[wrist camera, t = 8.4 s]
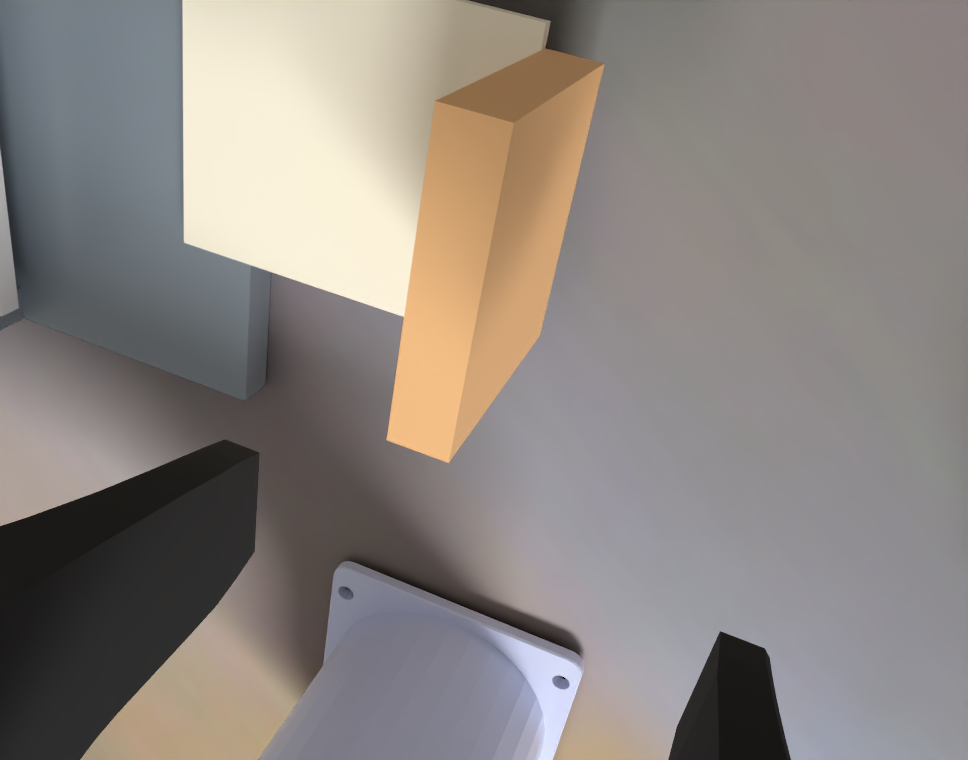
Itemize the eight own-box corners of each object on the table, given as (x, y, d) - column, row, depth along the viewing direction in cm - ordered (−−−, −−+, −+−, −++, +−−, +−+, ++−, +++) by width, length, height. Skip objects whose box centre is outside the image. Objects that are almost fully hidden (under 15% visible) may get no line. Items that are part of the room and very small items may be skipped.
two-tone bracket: (611, 36, 17) (521, 86, 12) (535, 354, 20) (444, 485, 16) (191, -69, 18) (-24, -60, 14) (191, 238, 22) (20, 325, 18)
